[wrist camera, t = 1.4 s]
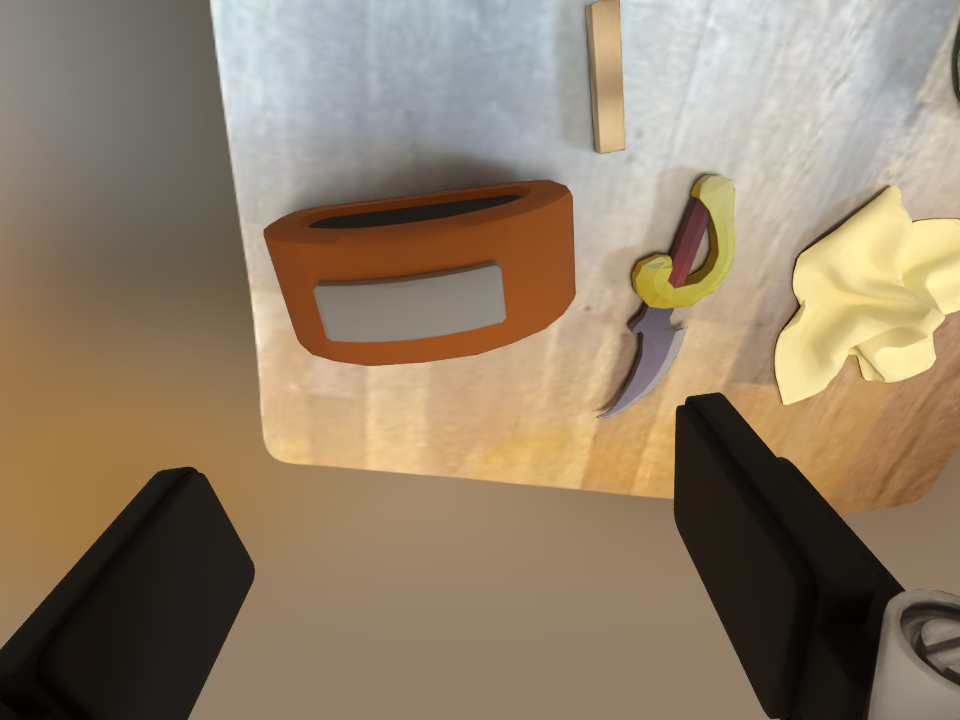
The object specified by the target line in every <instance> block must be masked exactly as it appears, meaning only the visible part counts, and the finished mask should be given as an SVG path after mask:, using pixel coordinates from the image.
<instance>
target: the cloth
mask: <svg viewBox="0 0 960 720" xmlns="http://www.w3.org/2000/svg"><path fill="white" fill-rule="evenodd" d="M792 284H793V290H794V293H795V295H796V297H797V299H798V301H799V303H800V305H801V308H800V309H799V310H798V312H797V313H796V314H795V316H794V317H793V318H792V320H791V321H790V322H789V323H788V325H787V326H786V327H785V328H784V329H783V331H782V332H781V334H780V336H779V337H778V340H777V344H776V348H775V355H774V367H775V375H776V379H777V383H778V387H779V391H780V395H781V399H782V403H783V404H784V405H789V404H792V403H794V402H797V401H800V400H803V399H805V398H807V397H810V396H812V395H814V394H817V393H819V392H821V391H822V390H823V389H825V388H826V387H827V385H828V382H829V381H831V380H832V379H833V378H834V377H835V376H836V375H837V374H838V373H839V371H840V369H841V367H842V365H843V363H844V361H845V359H846V357H847V355H856V356H857V357H858V362H859V365H860V368H861V372H862V376H863V377H864V379H865V380H867V381H871V380H876V381H881V382H885V383H890V382H898V381H902V380H904V379H907V378H910V377H912V376H915V375H917V374H919V373H921V372H923V371H925V370H927V369H929V368H930V367H931V366H932V365H933V364H934V361H935V360H936V355H935V352H934V344H933V334H932V333H933V331H934V330H935V329H936V328H937V327H938V326H939V325H940V324H941V323H942V322H943V321H944V319H945V314H949V313H953V312H956V311H958V310H960V219H927V220H921V221H915V222H912V219H911V217H910V216H909V214H908V213H907V212H906V210H905V209H904V208H903V204H902V200H901V192H900V190H899V188H897V187H894V186H891V187H888V188H887V189H886V190H885V191H884V192H883V193H882V194H881V195H880V196H878V197H876V198H875V199H874V200H873V201H871V202H870V203H869V204H868V205H866V206H865V207H864V208H863V209H861V210H860V211H859V212H857V213H856V214H855V215H853V216H852V217H851V218H850V219H848V220H847V221H846V222H845V223H844V224H843V225H841V226H840V227H839V228H838V229H836V230H835V231H833V232H832V233H830V234H829V235H827V236H826V237H825V238H823V239H822V240H820V241H819V242H817V243H816V244H815V245H813V246H812V247H810V248H809V249H807V250H806V251H805V252H803V253H802V254H800V256H799V258H798V259H797V263H796V267H795V270H794V274H793V281H792Z"/></svg>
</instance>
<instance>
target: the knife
mask: <svg viewBox="0 0 960 720" xmlns="http://www.w3.org/2000/svg"><path fill="white" fill-rule="evenodd" d="M691 196H692V197H693V200H692V203H691V205H690V207H689V210H688V212H687V215H686V217H685V220H684V222H683V225H682V227H681V230H680V232H679V235H678V237H677V239H676V242H675V244H674V247H673V249H672V252H671V254H670V256H668V255H662V254H656V255H654V256H652V257H649V258H647V259H645V260H642V261H640V262H638V264H637V266H636V268H635V270H634V272H633V274H632V279H633V286H634V290H635V292H636V293H637V294H638V295H639V296H640V297H641V298H642V299H643V300H644V301H645V302H646V303H645V306H644V309H643V311H642V314H641V315H640V316H639V317H638V318H636V319H635V320H633V321H632V322H631V324H630V325H629V329H630V330H631V332H632V333H633V334H634V335H635V336H636V334H637V333H638V332H639V335H640V353H639V356H638V359H637V361H636V364H635V367H634V370H633V372H632V375H631V377H630V380H629V381H628V383H627V385H626V387H625V388H624V390H623V392H622V394H621V395H620V397H619V398H618V400H617V401H616V403H615V404H614V406H613V407H612V408H611V409H610V410H608V411H607V412H606V413H604V414H602V415H600V416H598V417H595V418H607V417H610V416H612V415H615V414H617V413H619V412H621V411H623V410H625V409H626V408H628V407H630V406H631V405H633V404H635V403H636V402H638V401H639V400H641V399H642V398H644V397H645V396H647V395H648V394H650V393H651V391H652V390H653V389H654V388H655V387H656V386H657V385H658V383H659V382H660V381H661V380H662V379H663V378H664V377H665V376H666V374H667V372H668V371H669V369H670V367H671V366H672V364H673V362H674V361H675V359H676V357H677V355H678V352H679V349H680V347H681V344H682V341H683V338H684V336H685V333H686V330H687V327H688V326H687V327H684V328H681V329H677V330H674V329H673V328H672V327H671V324H670V316H671V314H672V312H673V310H674V308H675V307H685V306H692V305H693V304H695V303H696V302H698V301H700V300H701V299H703V298H704V297H706V296H708V295H709V294H711V293H713V292H714V290H715V289H716V288H717V287H718V286H719V285H720V283H721V282H722V280H723V279H724V277H725V276H726V274H727V273H728V271H729V269H730V267H731V264H732V262H733V260H734V249H735V233H734V201H735V188H734V186H733V184H732V181H731V179H728V178H725V177H722V176H719V175H705V176H704V177H702V178H701V179H700V180H699V181H698V182H697V183H696V185H695V186H694V188H693V190H692V192H691ZM707 224H708V227H709V231H710V240H711V252H710V255H709V257H708V260H707V262H706V264H705V266H704V267H703V268H702V269H701V270H700V271H698V272H696V273H694V274H692V275H690V276H688V273H689V270H690V268H691V265H692V263H693V260H694V257H695V255H696V252H697V250H698V247H699V244H700V242H701V239H702V236H703V234H704V231H705V229H706V226H707Z"/></svg>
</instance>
